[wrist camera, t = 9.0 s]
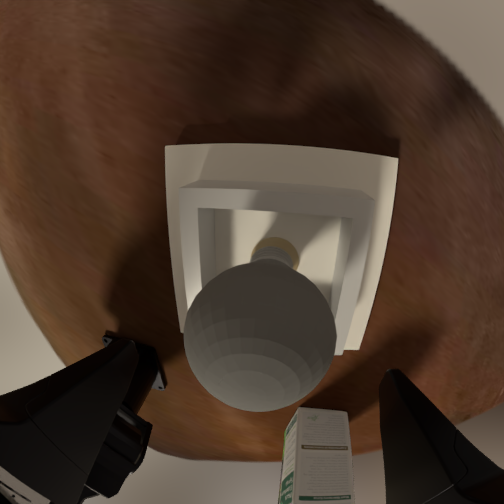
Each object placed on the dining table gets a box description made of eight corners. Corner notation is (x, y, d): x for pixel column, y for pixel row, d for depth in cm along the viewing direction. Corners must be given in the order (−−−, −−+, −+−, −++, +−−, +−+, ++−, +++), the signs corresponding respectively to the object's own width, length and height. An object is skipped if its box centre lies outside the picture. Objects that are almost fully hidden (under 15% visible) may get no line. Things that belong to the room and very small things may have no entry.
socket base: (355, 337, 20) (364, 377, 16) (186, 321, 22) (166, 357, 18) (389, 156, 15) (419, 162, 11) (174, 145, 17) (140, 147, 12)
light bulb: (235, 306, 18) (194, 433, 9) (214, 223, 16) (130, 327, 7) (323, 298, 17) (341, 432, 8) (314, 208, 15) (349, 313, 6)
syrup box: (297, 405, 24) (285, 534, 11) (349, 410, 24) (356, 531, 11) (284, 430, 27) (269, 538, 13) (331, 434, 26) (329, 538, 13)
